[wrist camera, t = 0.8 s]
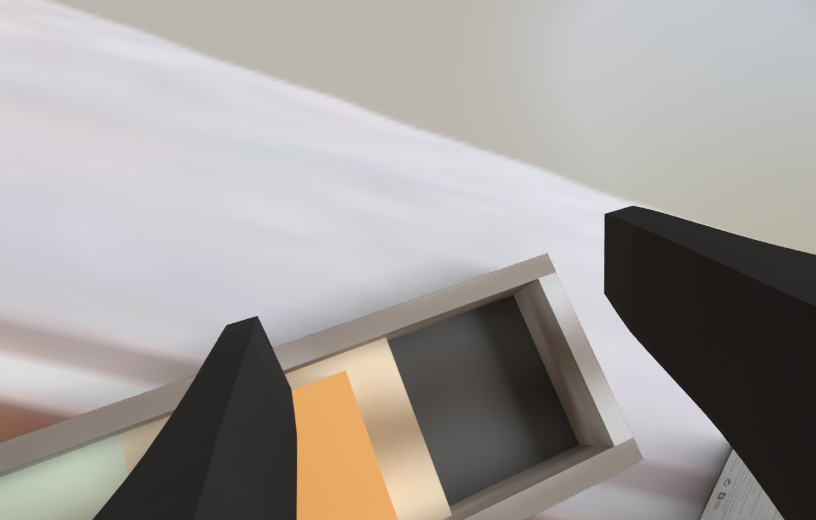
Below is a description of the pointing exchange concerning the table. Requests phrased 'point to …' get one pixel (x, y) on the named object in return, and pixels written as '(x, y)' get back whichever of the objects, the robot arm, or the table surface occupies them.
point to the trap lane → (397, 409)
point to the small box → (739, 496)
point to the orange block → (336, 456)
